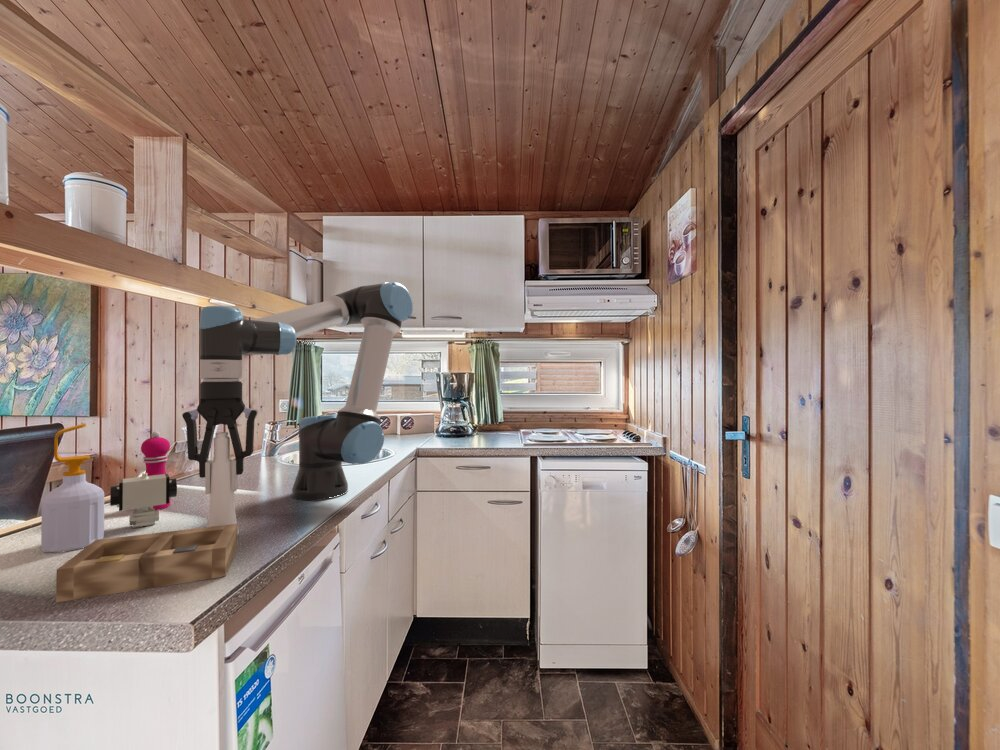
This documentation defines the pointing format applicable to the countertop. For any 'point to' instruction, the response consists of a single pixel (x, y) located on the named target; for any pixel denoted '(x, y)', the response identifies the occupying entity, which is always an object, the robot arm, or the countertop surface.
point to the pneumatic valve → (143, 496)
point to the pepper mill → (155, 457)
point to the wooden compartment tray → (147, 562)
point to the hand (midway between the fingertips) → (221, 491)
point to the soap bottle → (72, 507)
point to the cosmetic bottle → (221, 484)
